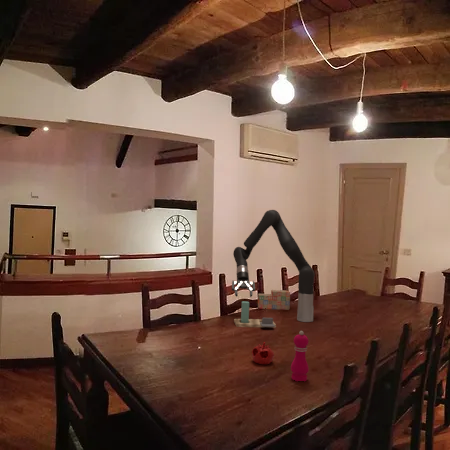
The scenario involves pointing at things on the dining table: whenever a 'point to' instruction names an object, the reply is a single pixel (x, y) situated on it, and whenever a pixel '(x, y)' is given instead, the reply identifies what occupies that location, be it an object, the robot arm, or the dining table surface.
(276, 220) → the robot arm
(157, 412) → the dining table surface
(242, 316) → the peg
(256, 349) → the pomegranate
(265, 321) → the lid
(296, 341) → the pepper mill
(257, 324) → the puzzle board
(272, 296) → the stack of blocks
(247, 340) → the dining table surface
